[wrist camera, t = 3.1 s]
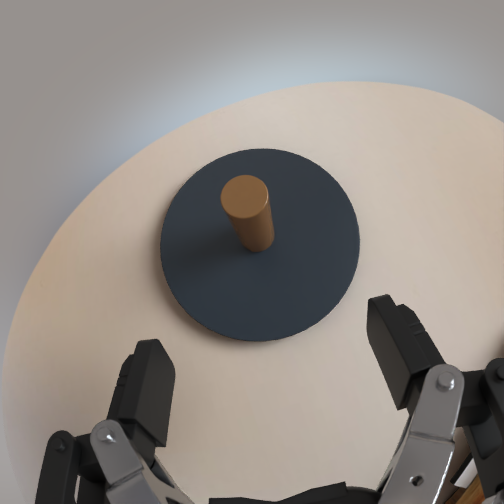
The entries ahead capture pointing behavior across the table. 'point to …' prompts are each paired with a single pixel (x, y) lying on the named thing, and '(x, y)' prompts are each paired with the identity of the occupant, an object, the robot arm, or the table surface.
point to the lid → (260, 244)
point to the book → (467, 484)
